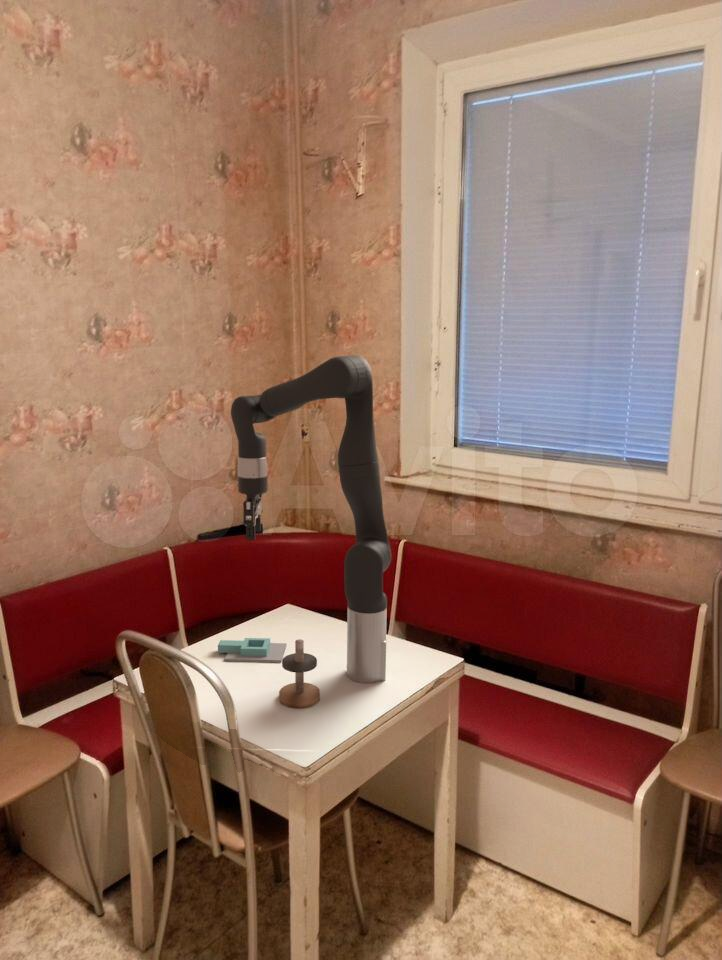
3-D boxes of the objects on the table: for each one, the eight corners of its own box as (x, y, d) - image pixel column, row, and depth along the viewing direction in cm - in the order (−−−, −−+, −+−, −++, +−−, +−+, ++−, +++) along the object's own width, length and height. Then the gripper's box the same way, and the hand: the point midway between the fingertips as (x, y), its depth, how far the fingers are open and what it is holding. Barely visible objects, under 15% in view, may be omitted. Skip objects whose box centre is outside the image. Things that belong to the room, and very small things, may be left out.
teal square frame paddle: (270, 645, 182) (270, 638, 182) (266, 656, 176) (266, 649, 175) (221, 644, 182) (221, 637, 182) (216, 655, 176) (216, 648, 175)
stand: (321, 689, 161) (321, 633, 158) (318, 709, 152) (318, 650, 150) (282, 688, 161) (281, 632, 159) (276, 707, 152) (275, 649, 150)
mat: (286, 645, 184) (286, 643, 184) (281, 662, 174) (281, 660, 174) (233, 644, 184) (232, 641, 184) (224, 661, 174) (224, 658, 174)
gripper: (262, 479, 173) (263, 543, 176) (271, 469, 187) (272, 528, 190) (232, 479, 173) (233, 542, 177) (243, 468, 187) (244, 528, 191)
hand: (253, 535), depth 183 cm, fingers open, 8 cm apart
